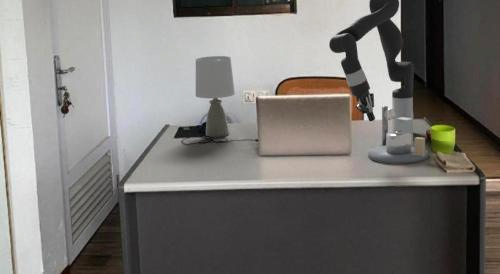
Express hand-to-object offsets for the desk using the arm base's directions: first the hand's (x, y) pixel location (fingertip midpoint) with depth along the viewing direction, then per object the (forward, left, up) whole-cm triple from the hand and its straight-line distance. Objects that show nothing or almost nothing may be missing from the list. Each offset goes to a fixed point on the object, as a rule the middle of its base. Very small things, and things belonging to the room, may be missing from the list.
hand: (372, 120), depth 305 cm
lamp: (-1, -88, -17) cm, 89 cm away
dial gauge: (-18, -3, -16) cm, 24 cm away
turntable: (-9, +6, -16) cm, 20 cm away
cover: (-9, +6, -14) cm, 18 cm away
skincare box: (-27, -1, -17) cm, 32 cm away
